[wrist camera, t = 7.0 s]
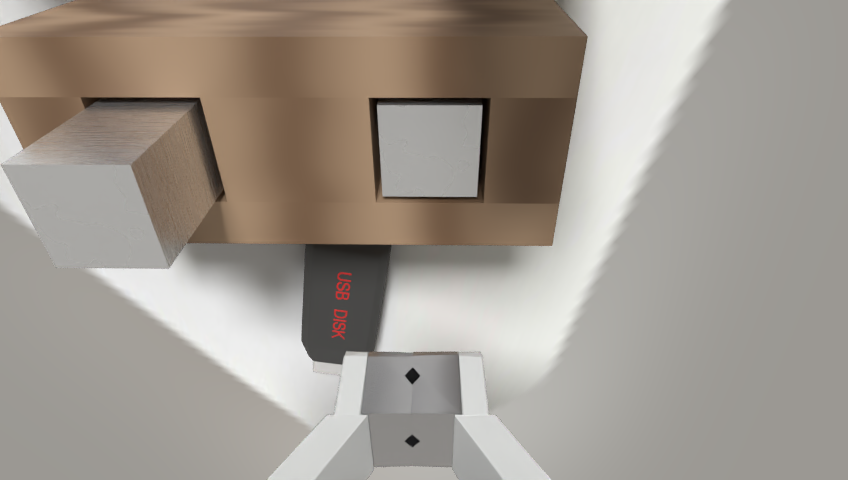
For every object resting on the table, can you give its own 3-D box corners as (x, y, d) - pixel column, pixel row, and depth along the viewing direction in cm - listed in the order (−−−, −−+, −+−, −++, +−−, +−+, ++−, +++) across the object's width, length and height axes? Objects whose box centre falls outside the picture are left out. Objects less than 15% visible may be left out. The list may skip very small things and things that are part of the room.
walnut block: (149, 162, 30) (69, 242, 24) (91, -5, 25) (-33, 37, 18) (526, 164, 30) (552, 245, 23) (547, -7, 24) (587, 36, 18)
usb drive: (393, 233, 33) (389, 259, 31) (372, 358, 40) (368, 386, 38) (311, 220, 33) (302, 246, 30) (305, 349, 40) (297, 378, 37)
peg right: (393, 130, 28) (382, 196, 22) (390, 53, 25) (377, 105, 20) (468, 130, 27) (476, 196, 22) (472, 53, 25) (482, 105, 19)
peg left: (147, 173, 24) (55, 267, 18) (117, 87, 21) (0, 164, 16) (234, 173, 24) (168, 268, 18) (212, 87, 21) (130, 165, 16)
